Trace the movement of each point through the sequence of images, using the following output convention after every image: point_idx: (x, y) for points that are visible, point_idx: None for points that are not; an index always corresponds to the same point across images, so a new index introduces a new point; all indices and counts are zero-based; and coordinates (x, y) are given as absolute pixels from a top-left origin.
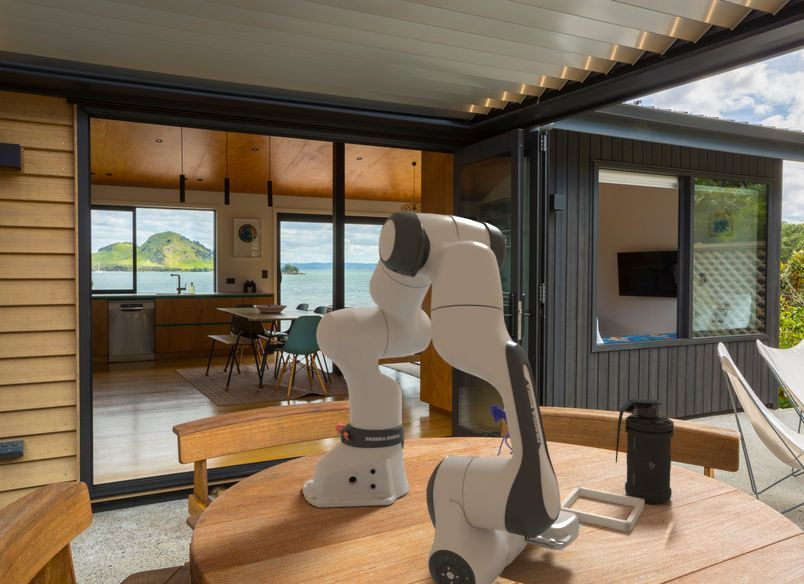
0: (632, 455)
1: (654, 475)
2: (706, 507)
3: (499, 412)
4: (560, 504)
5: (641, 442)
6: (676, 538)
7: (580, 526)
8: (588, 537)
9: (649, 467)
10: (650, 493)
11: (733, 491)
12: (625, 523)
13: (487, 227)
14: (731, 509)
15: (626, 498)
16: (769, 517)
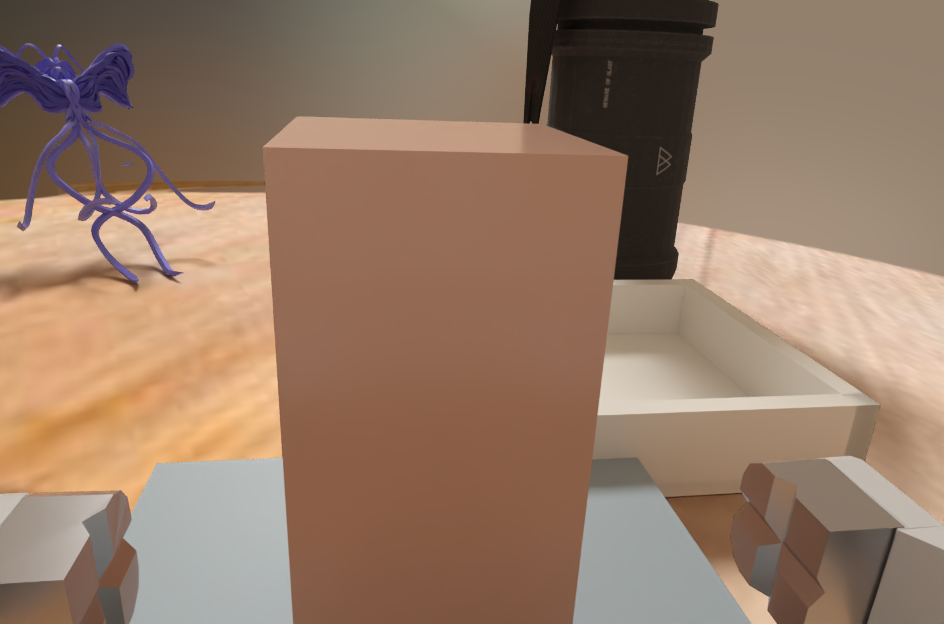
0: (595, 134)
1: (664, 196)
2: (753, 275)
3: (3, 67)
4: (851, 460)
5: (639, 74)
6: (917, 404)
7: (668, 506)
8: (713, 554)
9: (656, 168)
10: (648, 261)
11: (716, 231)
12: (856, 410)
13: None
14: (797, 268)
15: (637, 290)
16: (883, 269)
